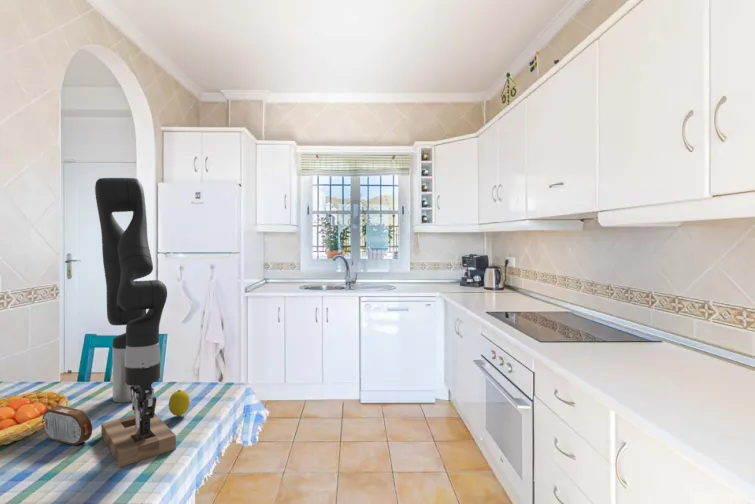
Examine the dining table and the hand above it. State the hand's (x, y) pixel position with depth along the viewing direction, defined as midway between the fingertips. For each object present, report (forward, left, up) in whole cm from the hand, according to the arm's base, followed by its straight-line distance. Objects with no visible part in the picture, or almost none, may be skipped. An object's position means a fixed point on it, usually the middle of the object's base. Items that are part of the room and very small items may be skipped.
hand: (142, 431), depth 100 cm
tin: (-18, -13, -5) cm, 23 cm away
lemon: (-14, +13, -5) cm, 20 cm away
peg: (0, 0, -3) cm, 3 cm away
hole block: (-5, 0, -5) cm, 7 cm away
